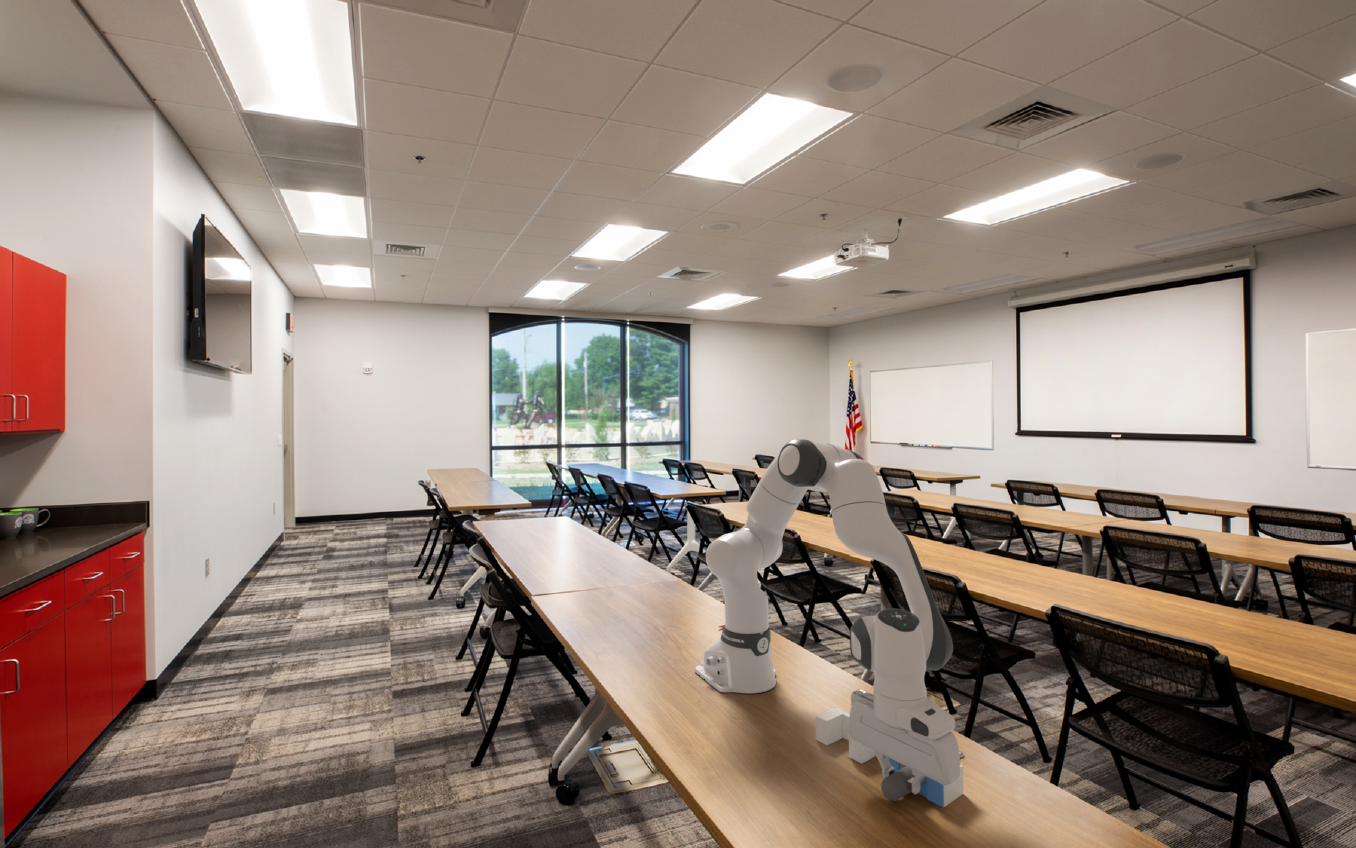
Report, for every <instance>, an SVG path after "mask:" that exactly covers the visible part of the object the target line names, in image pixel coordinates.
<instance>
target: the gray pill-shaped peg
mask: <svg viewBox="0 0 1356 848" xmlns="http://www.w3.org/2000/svg"><path fill="white" fill-rule="evenodd" d="M914 777H915V775H913V774H912V769H911V768H909V767H907V766H905V767H903V768H902V769H900V770H898V771H896V772H895V773H893V774H891V775H890V776H888V777H886V778H883V780H882V782H881V784H880V791H881V793H882V794H883V796H884V798H886V799H888V800H890V801H892V802H893V801H894V802H895V801H898V800H900V799H902V798H903V797H905V796H906V795H908V794H910V793H911V792H910V791H908V790H907V787H908V786H907V781H908V780H911V778H914ZM925 782H927V776H925V777H924V778H923V779H922V781H921V782H920V786H921V785H922V784H924V783H925Z"/></svg>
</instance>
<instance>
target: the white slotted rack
mask: <svg viewBox="0 0 1356 848" xmlns="http://www.w3.org/2000/svg"><path fill="white" fill-rule="evenodd" d="M849 717H850V712H849V713H848V712H846V711H845V710H842V709H840V708H838V707H832V708H830V709H828V710H826V711H825V710H824V711H823V712H821V713H818V714H817V715H815V740H816V741H818V742H820V743H821V744H823V745H825V746H829V745H832V744H833V743H836V742H838V741H839V740H841V739H844V740H846V741H848V756H849V758H850V759H852V760H854V761H856V762H857V763H859V764H863V763H866V762H868V761H870V760H871V759H873V758H875V757H876V751H875V750H873V749H871V748H869V747H867V746H865V745H863V744H861V743H859V742H857V741H855V740H853V739H852V738H851V736H850V734H849ZM888 759H889V761H890V764H891V766H892V767H894V768H895V772H896V771H898V770H900V769H902V768H903V767H905V765H903V764H901V763H899V762H897V761H895V760H893V759H891V758H889V757H888ZM895 772H894V773H895ZM918 794H919V795H921V796H923V797H925V798H926V800H928V801H929V802H932V803H933V804H935V805H937V806H939V807H940V808H943V809H944V808H945V807H947V806H948V805H950V804H951V803H953V802H954V801H955V800H957V799H958V798H960V797H961V796H962V795H964V766H963V765H962V764H960V776H959V777H958V779H956V780H955V781H954V782H952V783H951V784H949V785H946V786H945V785H942V784H941V783H939V782H937V781H935V780H933V779H931V778H929V777H927V782H925V783H924V784H922V785H921V786H920V792H919V793H918Z"/></svg>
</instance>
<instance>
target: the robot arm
mask: <svg viewBox="0 0 1356 848" xmlns="http://www.w3.org/2000/svg"><path fill="white" fill-rule="evenodd" d="M808 490H810V491H812V492H818V493H827V494H828V497H829V500H830V501H829V502H830V510H831V517H832V522H833V527H834V532H835V534H836V537H837V539H838V540H839V541H840V542H841V544H842V545H844V546H845V547H846V548H847V549H849V550H850V551H852V552H854V553H856V554H858V555H860V556H863V557H867V558H869V559H873V560H875V561H878V562H881V563H882V564H884V565H886V566H887V567H889V568H890V569H891V570H893V571H894V572H895V574H896V575H897V577H898V579H899V581H900V585H901V587H902V591H903V592H904V595H905V599H906V601H907V604H908V607H909V610H910V611H908V610H905V609H901V608H885V609H882V610H879V611H878V612H877V613H876V614H875V615H866V616H862V617H858V618H857V619H856V620H855V621H854V623H852V625H851V627H850V629H849V647H850V649H849V650H850V654H851V657H852V659H853V660H854V661H855V662H856V663H858V664H859V666H862V667H863V669H865V670H866V671H868V672H872V673H873V674H874V682H873V685H872V686H873V688H872V689H873V693H870V692H867V691H865V690H863V689H860V688H859V689H857V690H854V691H853V692H851V695H850V704H851V705H850V710H849V714H850V717H849V734H850V736H851V738H852V739H853V740H855V741H857V742H859V743H861V744H863V745H865V746H867V747H869V748H871V749H873V750H875V751H876V756H875V757H876V758H877V760H878V763H879V765H880V768H881V770H882V771H881V774H882V775H881V776H882V777H883V779H885V778H886V777H888V776H890V775H891V774H893V773H894V772H895V768H894V767H892V766H891V764H890V761H889V759H888V757H889V758H891V759H893V760H895V761H897V762H899V763H901V764H903V765H905V766H907V767H909V768H911V769H912V774H913V775H915V777H914V778H911V780H908V781H907V786H908V787H907V790H908V791H910V793H912V794H913V795H917V794H919V792H920V782H921V781H922V779H923V778H924V777H925V776H927V777H929V778H931V779H933V780H935V781H937V782H939V783H941V784H942V785H945V786H946V785H949V784H951V783H952V782H954V781H955V780H956V779H958V777H959V776H960V765H961V758H960V755H959V751H960V747H959V742H958V740H957V737H956V736H955V734H954V733H953V731H954V729H955V728H956V720H955V717H953V715H952V714H950V713H949V712H947V711H946V710H944V709H943V708H942V707H941V706H939V704H937V703H936V702H935V701H934V700H932V699H931V698H930V697H929V696H928V695H927V694H928V693H927V687H926V684H925V675H926V671H940V670H941V669H942V668H943V667H944V666H945V665H946V664H947V663H948V662H949V660H950V659H951V657H952V656H953V652H954V643H953V638H952V635H951V632H950V630H949V627H948V626H947V624H946V622H945V620H944V617H943V616H942V615H941V613H940V610H939V608H938V606H937V604H936V601H935V598H934V595H933V593H932V590H931V587H930V585H929V583H928V580H927V577H926V575H925V572H924V570H923V567H922V564H921V562H920V559H919V557H918V555H917V552H916V549H915V547H914V545H913V543H912V541H911V540H910V538H909V536H908V535H907V534H905V533H903V532H901V531H900V530H899V529H898V528H897V526H896V525H895V524H894V523H893V521H892V519H891V517H890V515H889V512H888V509H887V506H886V505H887V503H886V501H885V496H884V492H883V488H882V486H881V482H880V479H879V477H878V474H877V471H876V470H875V468H874V466H873V465H872V464H871V463H870V462H869V461H867V460H865V459H864V458H863V457H862V456H861V455H860V454H859V453H857V452H856V451H853V450H851V449H845V448H843V447H840V446H839V445H838V446H837V445H835V444H832V443H831V444H830V443H824V442H819V441H811V440H810V439H802V438H801V439H797V438H796V439H792V440H789V441H788V442H786V443H785V444H784V445H783V446H782V448H781V450H780V452H779V453H778V454H777V455H776V456H775V457H774V459H773V460H772V461H771V462H770V464H769V466H768V467H767V468H766V470H765V471H764V473H763V475H762V476H761V478H760V480H759V482H758V484H757V485H756V487H755V489H754V490H753V492H752V494H751V496H750V497H749V500H748V502H747V504H746V512H747V513H748V515H747V519H746V522H745V524H744V525H743V526H742V527H741V528H740V529H739V530H736V531H732V532H729V533H725V534H722V535H720V536H719V537H718V538H715V540H713V541H712V542H711V543H709V545H708V547H707V549H706V552H705V562H706V565H707V567H708V570H709V571H710V572H711V573H712V574H713V575H714V576H715V577H716V578H717V579H718V582H719V583H720V587H721V591H722V593H723V594H722V595H723V599H724V600H723V601H724V602H723V603H724V621H725V622H724V624H723V625H719V626H718V628H719V629H718V632H720V631H721V635H720V638H718V639H717V640H716V641H714V642H713V643H711V644H710V645H708V647H707V648H706V649H705V651H704V655H703V662H701V663H700V664H697V665H696V666H695V668H694V672H695V673H696V674H697V675H698V676H699V675H700V676H699V677H700V678H702V679H703V680H704V679H705V682H707V683H708V684H709V685H710V686H711V687H713V688H714V689H715V690H717V691H718V692H720V693H738V694H739V693H740V694H757V693H763V692H764V693H765V692H767V691H769V690H772V689H773V688H774V687H775V686H776V685H777V679H776V674H777V673H776V668H774V661H773V654H772V647H771V640H772V639H771V638H772V637H771V635H772V631H771V627H770V625H769V597H768V595H767V594H766V592H765V591H763V590H762V589H761V587H760V584H759V580H758V579H759V578H758V571H760V570H762V569H765V568H767V567H770V566H771V565H772V564H774V563H775V562H776V561H777V560H778V559H779V558H780V557H781V556H782V553H783V549H784V548H783V546H784V545H783V537H784V533H785V530H786V528H787V526H788V525H789V522H790V521H791V519H792V517H793V516H794V513H795V512H796V510H797V508H798V507H799V505H800V504H801V502H802V500H803V498H804V497H805V495H806V494H807V491H808Z"/></svg>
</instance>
